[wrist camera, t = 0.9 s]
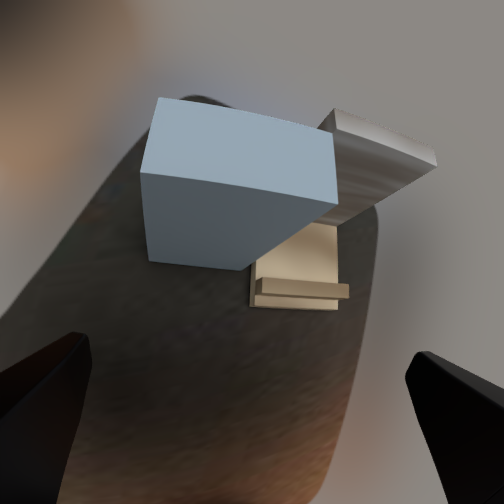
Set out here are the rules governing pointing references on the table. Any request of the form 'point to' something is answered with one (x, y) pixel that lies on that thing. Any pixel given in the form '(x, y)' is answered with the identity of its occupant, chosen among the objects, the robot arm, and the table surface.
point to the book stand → (338, 213)
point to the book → (230, 183)
